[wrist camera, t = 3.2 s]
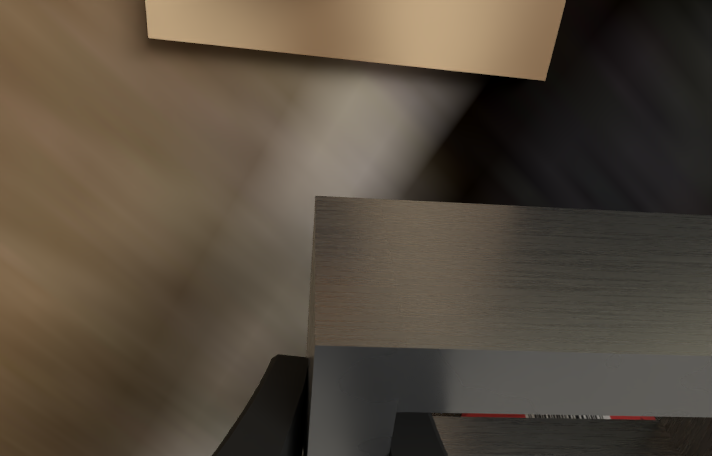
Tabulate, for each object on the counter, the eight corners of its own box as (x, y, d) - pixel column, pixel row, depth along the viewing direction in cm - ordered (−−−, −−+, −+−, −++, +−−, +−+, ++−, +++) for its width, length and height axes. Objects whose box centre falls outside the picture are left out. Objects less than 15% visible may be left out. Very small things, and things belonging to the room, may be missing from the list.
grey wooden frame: (818, 220, 12) (1014, 364, 9) (688, 452, 16) (790, 617, 12) (315, 195, 11) (314, 345, 8) (300, 448, 15) (295, 624, 11)
